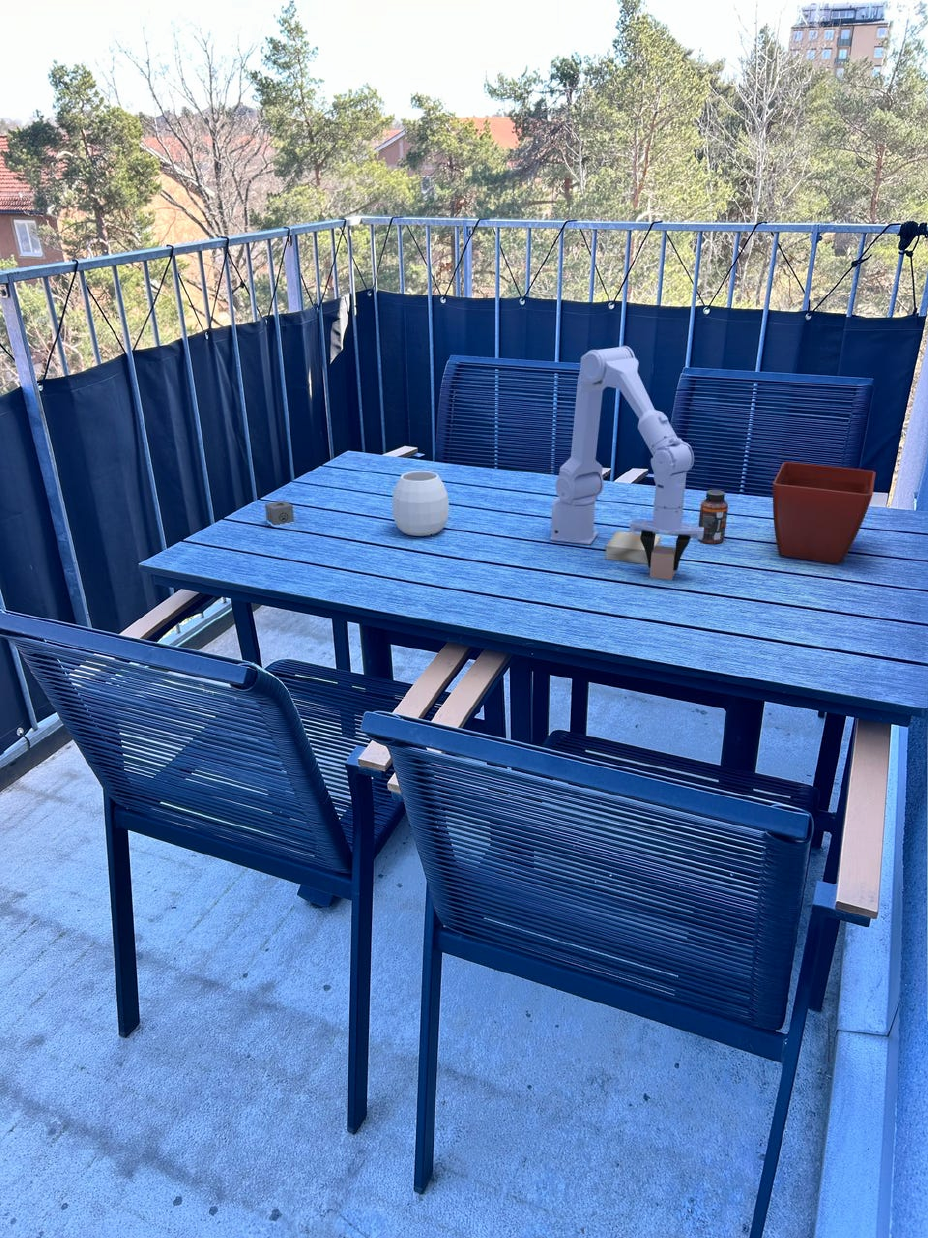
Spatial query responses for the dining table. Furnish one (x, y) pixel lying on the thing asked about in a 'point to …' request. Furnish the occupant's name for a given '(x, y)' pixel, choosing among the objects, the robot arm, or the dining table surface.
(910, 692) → the dining table surface
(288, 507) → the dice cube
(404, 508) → the white vase
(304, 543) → the dining table surface
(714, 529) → the supplement bottle
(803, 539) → the plant pot
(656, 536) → the birch base
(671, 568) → the terracotta block
